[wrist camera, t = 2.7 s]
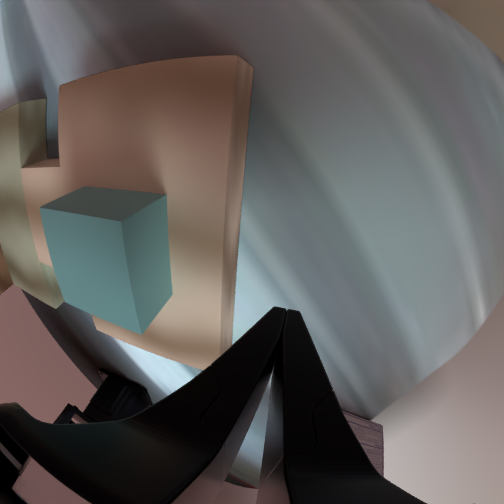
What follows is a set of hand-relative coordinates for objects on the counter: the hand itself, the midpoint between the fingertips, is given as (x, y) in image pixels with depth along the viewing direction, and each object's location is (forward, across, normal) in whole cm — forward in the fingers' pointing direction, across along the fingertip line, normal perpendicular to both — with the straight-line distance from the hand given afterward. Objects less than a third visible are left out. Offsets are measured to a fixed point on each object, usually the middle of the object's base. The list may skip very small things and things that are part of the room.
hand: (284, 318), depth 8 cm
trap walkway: (+5, +15, 0) cm, 16 cm away
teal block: (+3, +8, 0) cm, 8 cm away
